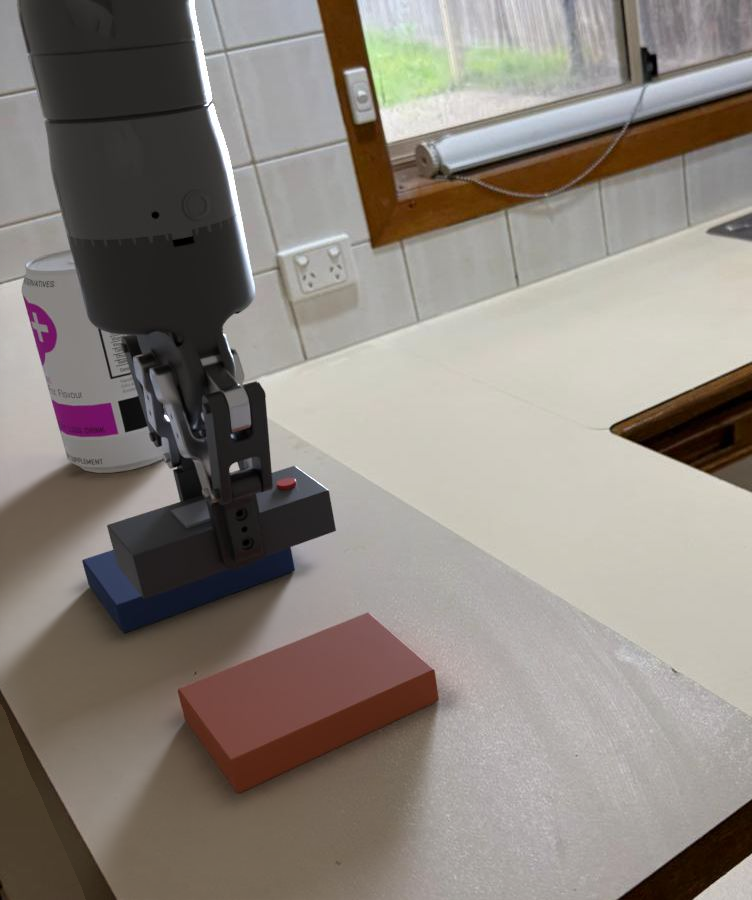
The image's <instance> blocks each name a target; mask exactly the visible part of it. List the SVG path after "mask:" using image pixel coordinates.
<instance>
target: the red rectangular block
mask: <svg viewBox="0 0 752 900" xmlns="http://www.w3.org/2000/svg"><path fill="white" fill-rule="evenodd" d="M177 694H178V698H179V702H180V705H181V709H182V715H183V718H184V720H185V721H186V723H187V724H188V726H189V727H190V729H191V730H192V732H193V733H194V734H195V736H196V737H197V739H198V740H199V742H201V744H202V746H203V747H204V748H205V750H206V751H207V752H208V754H209V755H210V757H211V758H212V759H213V761H214V762H215V764H216V765H217V766H218V768H219V769H220V771H221V772H222V773H223V775H224V777H226V779H227V780H228V782H229V783H230V784H231V786H232V787H233V789H234V790H235V792H237V794H240V793H242V792H245V791H247V790H249V789H252V788H254V787H257V786H258V785H261V784H262V783H264V782H267V781H269V780H271V779H273V778H276V777H277V776H280V775H282V774H283V773H286V772H288V771H290V770H293V769H294V768H297V767H298V766H301V765H303V764H305V763H307V762H309V761H311V760H314V759H316V758H318V757H320V756H323V755H324V754H327V753H329V752H331V751H334V750H335V749H337V748H340V747H342V746H344V745H346V744H348V743H351V742H352V741H354V740H357V739H360V738H361V737H364V736H365V735H367V734H370V733H372V732H374V731H377V730H378V729H380V728H383V727H385V726H387V725H390V724H391V723H394V722H395V721H398V720H400V719H402V718H404V717H407V716H408V715H411V714H413V713H415V712H417V711H419V710H421V709H423V708H426V707H428V706H430V705H432V704H435V703H437V702H439V700H440V699H439V690H438V684H437V677H436V671H435V669H434V668H433V667H432V666H431V665H430V664H429V663H427V662H426V660H424V659H423V658H422V657H421V656H419V655H418V654H417V653H416V652H415V651H414V650H412V649H411V648H410V647H409V646H408V645H407V644H406V643H404V641H402V640H401V639H400V638H399V637H398V636H397V635H395V634H394V633H393V632H392V631H391V630H390V629H389V628H387V627H386V626H385V625H384V624H383V623H381V622H380V621H379V620H378V619H377V618H376V617H375V616H374V615H373V614H371V612H364V613H363V614H360V615H357V616H355V617H352V618H349V619H347V620H345V621H343V622H340V623H338V624H335V625H333V626H330V627H327V628H325V629H323V630H320V631H317V632H314V633H312V634H310V635H307V636H305V637H303V638H301V639H297V640H295V641H293V642H290V643H287V644H285V645H282V646H280V647H277V648H275V649H272V650H270V651H267V652H265V653H263V654H260V655H258V656H255V657H253V658H250V659H248V660H244V661H243V662H240V663H237V664H236V665H233V666H230V667H228V668H225V669H223V670H220V671H218V672H215V673H212V674H211V675H208V676H205V677H203V678H200V679H198V680H196V681H193V682H190V683H187V684H186V685H183V686H181V687H178V688H177Z"/></svg>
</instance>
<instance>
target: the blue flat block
mask: <svg viewBox="0 0 752 900" xmlns="http://www.w3.org/2000/svg"><path fill="white" fill-rule="evenodd" d="M81 562H82V566H83V569H84V574H85V577H86V580H87V585H88V587H89V588H90V590H91V591H92V592H93V593H94V595H95V596H96V598H97V599H98V600H99V602H100V604H101V605H102V606H103V608H104V609H105V610H106V612H107V613H108V615H109V616H110V617H111V619H112V620H113V621H114V623H115V624H116V626H117V627H118V628H119V630H120V631H121V633H122V634H126V633H129V632H132V631H135V630H137V629H140V628H143V627H145V626H149V625H151V624H154V623H157V622H160V621H162V620H165V619H167V618H171V617H173V616H176V615H178V614H181V613H184V612H186V611H189V610H192V609H195V608H197V607H201V606H203V605H206V604H208V603H211V602H214V601H216V600H219V599H221V598H225V597H227V596H230V595H233V594H236V593H238V592H241V591H244V590H246V589H249V588H252V587H255V586H258V585H260V584H263V583H266V582H269V581H271V580H274V579H276V578H279V577H282V576H284V575H288V574H290V573H293V572H295V571H296V568H295V564H294V563H295V562H294V557H293V552H292V547H290V548H287V549H284V550H281V551H278V552H276V553H273V554H270V555H267V556H265V558H264V559H262V560H261V561H258V562H255V563H252V564H250V565H247V566H244V567H241V568H238V569H236V570H230V569H228V570H225V571H222V572H219V573H217V574H214V575H211V576H208V577H205V578H203V579H200V580H197V581H194V582H191V583H189V584H186V585H183V586H180V587H177V588H175V589H172V590H169V591H166V592H163V593H161V594H158V595H155V596H152V597H149V598H147V599H144V598H143V597H142V596H141V595H140V593H139V592H138V591H137V590H136V588H135V587H134V586H133V585H132V583H131V582H130V581H129V580H128V578H127V577H126V576H125V575H124V573H123V572H122V571H121V570H120V568H119V567H118V565H117V561H116V558H115V554H114V550H113V549H111V550H108V551H105V552H102V553H99V554H96V555H93V556H90V557H87V558H84V559H82V560H81Z"/></svg>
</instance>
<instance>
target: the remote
mask: <svg viewBox="0 0 752 900" xmlns="http://www.w3.org/2000/svg"><path fill="white" fill-rule="evenodd" d="M272 479H273V481H272V482H273V488H272V489H271V490H268V491H265V492H260V493H257V494H256V497H257V502H258V507H259V512H260V516H261V521H262V526H263V531H264V536H265V540H266V545H267V555H270V554H273V553H276V552H278V551H281V550H284V549H287V548H290V547H291V548H293V547H295V546H298V545H301V544H303V543H306V542H309V541H312V540H315V539H317V538H320V537H324V536H325V535H330V534H333V533H335V532H336V531H337V528H336V522H335V517H334V511H333V505H332V501H331V500H332V499H331V495H330V489H328V488H326V487H325V486H324V485H323V484H321V483H320V482H318V481H317V480H316V479H314V478H313V477H311V476H310V475H309V474H307V473H306V472H304V470H301V469H300V468H299V467H297V466H296V465H291V466H289V467H286V468H283V469H280V470H276V471H272ZM206 501H207V500H206V499H205V498H204V497H203V495H200V496H197V497H194V498H191V499H188V500H184V501H181V502H180V501H179V502H176V503H175V502H174V503H172V504H169V505H166V506H162V507H159V508H157V509H153V510H150V511H147V512H143V513H141V514H137V515H134V516H131V517H128V518H125V519H121V520H118V521H115V522H113V523H109V524H107V525H106V528H107V531H108V535H109V539H110V543H111V547H112V550H114V554H115V558H116V561H117V565H118V567H119V568H120V570H121V571H122V572H123V573H124V575H125V576H126V577H127V578H128V580H129V581H130V582H131V583H132V585H133V586H134V587H135V588H136V590H137V591H138V592H139V593H140V595H141V596H142V597H143V598H144V599H147V598H149V597H152V596H155V595H158V594H161V593H163V592H166V591H169V590H172V589H175V588H177V587H180V586H183V585H186V584H189V583H191V582H194V581H197V580H200V579H203V578H205V577H208V576H211V575H214V574H217V573H219V572H222V571H225V570H228V568H226V567H225V566H224V565H223V564H222V563H221V561H220V558H219V553H218V549H217V545H216V540H215V536H214V531H213V528H212V524H211V519H210V515H209V511H208V506H207V502H206ZM267 555H266V556H267Z"/></svg>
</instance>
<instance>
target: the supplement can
mask: <svg viewBox="0 0 752 900" xmlns="http://www.w3.org/2000/svg"><path fill="white" fill-rule="evenodd" d="M24 273H25V274H24V276H23V281H22V283H21V294H22V298H23V301H24V305H25V309H26V313H27V317H28V321H29V323H30V327H31V331H32V334H33V337H34V341H35V345H36V349H37V352H38V357H39V360H40V363H41V367H42V371H43V376H44V378H45V382H46V385H47V389H48V393H49V397H50V401H51V404H52V408H53V411H54V415H55V419H56V421H57V425H58V430H59V433H60V437H61V441H62V443H63V444H62V445H63V448H64V452H65V455H66V459H67V460H68V461H69V462H70V463H72V464H73V465H75V466H77V467H79V468H81V469H82V470H84V472H85V471H86V472H91V473H97V474H105V473H106V474H107V473H110V474H111V473H113V474H114V473H120V472H126V471H127V472H128V471H132V470H135V469H136V470H137V469H139V468H144V467H147V466H150V465H152V464H154V463H158V462H159V461H162V460H164V459H163V448H162V446H160V447H156V446H155V445H154V443H153V442H152V441H151V439H150V437H149V433H150V432H149V428H148V425H147V422H146V419H145V416H144V413H143V409H142V406H141V403H140V400H139V397H138V393H137V390H136V387H135V384H134V381H133V378H132V374H131V371H130V368H129V365H128V362H127V359H126V355H125V353H123V351H122V348H121V344H122V337H123V336H127V335H123V334H114V333H109V332H106V331H103V330H100V329H98V328H97V327H95V326H94V325H93V324H92V323H91V322H90V320H89V318H88V316H87V312H86V308H85V304H84V300H83V296H82V292H81V288H80V284H79V280H78V276H77V272H76V269H75V265H74V261H73V257H72V253H71V249H70V248H69V249H63V250H58V251H56V252H51V253H47V254H44V255H43V254H42V255H41V256H38V257H36V258H33V259H30V260H29V261H28V262H26V263H25V272H24ZM163 407H164V409H166V408H165V406H164V405H163Z"/></svg>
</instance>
